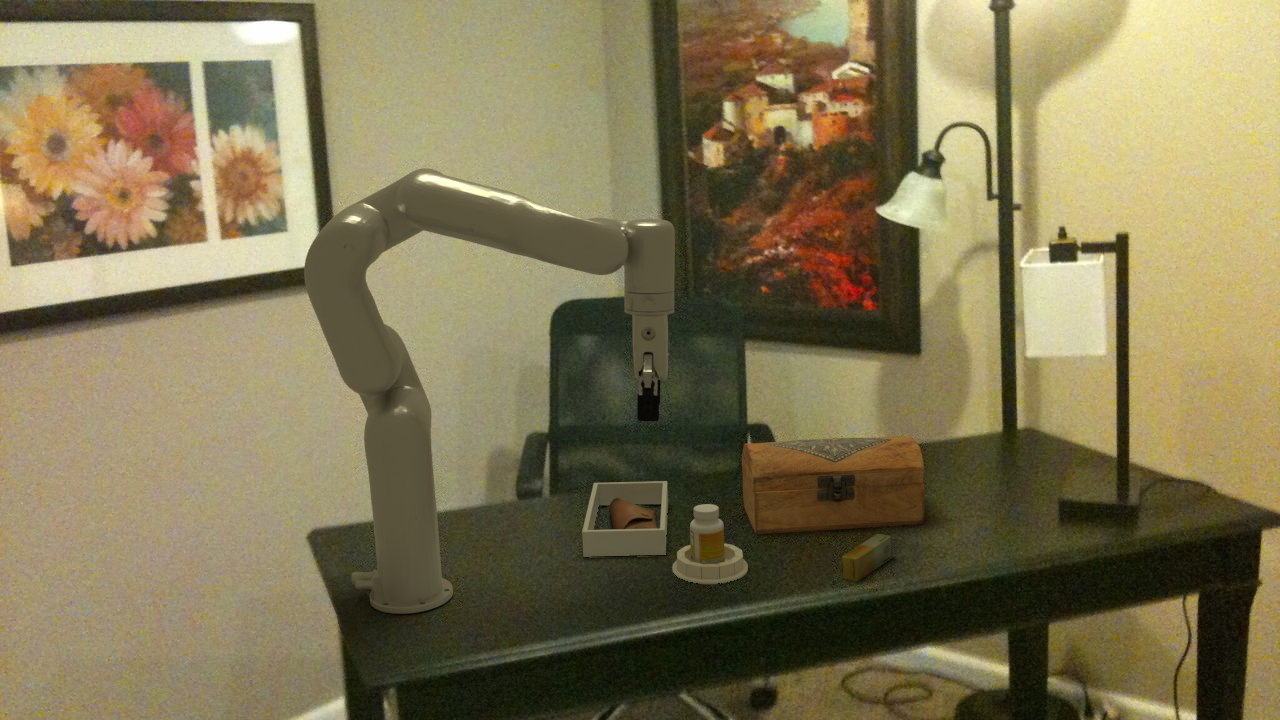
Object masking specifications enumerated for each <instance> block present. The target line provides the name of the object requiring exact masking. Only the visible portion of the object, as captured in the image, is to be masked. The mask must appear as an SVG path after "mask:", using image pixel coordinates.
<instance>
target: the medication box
mask: <svg viewBox="0 0 1280 720" xmlns="http://www.w3.org/2000/svg"><path fill="white" fill-rule="evenodd" d="M892 538H893V536H892V535H890V534H887V533H879V532H878V533H876V534H874V535H872V536H871V537H870V538H868V539H867V540H865V541H864V542H862V543H860V544H859V545H857V546H856V547H854V548H853V549H851V550H849V551H848V552H846V553H845V554H844V555H842V556H841V571H842V579H844V580H847V579H848V581H850V582H851V581H852V582H855V583H856V582H859V581H861V580H862V579H864V578H866V577H867V576H868V575H870V574H871V573H872V571H873V572H874V571H876V570H878V569H879V568H880V567H882V566H884V563H885V564H887V563H888V562H889V561H890V559H891V560H893V556H894V555H893V553H894V552H893V541H892V540H893V539H892ZM887 561H888V562H887ZM881 565H882V566H881ZM878 567H879V568H878ZM875 569H876V570H875ZM869 573H870V574H869ZM863 577H864V578H863Z"/></svg>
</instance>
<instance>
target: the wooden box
mask: <svg viewBox="0 0 1280 720" xmlns="http://www.w3.org/2000/svg"><path fill="white" fill-rule="evenodd" d="M923 458H924V457H923V453H922V449H921V446H920V445H919V444H918V441H916V439H915V438H913V437H912V436H907V435H905V436H903V435H901V436H900V435H899V436H878V437H877V436H876V437H839V438H838V437H836V438H835V437H834V438H817V439H816V438H815V439H812V438H811V439H810V438H809V439H795V440H784V441H783V440H781V441H771V442H770V441H769V442H768V441H767V442H757V443H752V442H751V443H743V448H742V453H741V467H742V468H741V469H742V495H743V496H742V497H743V507H744V509H745V512H746V514H747V517H748V520H749V522H750V524H751V527H752V528H753V531H754V534H755V535H767V534H769V535H770V534H784V533H800V532H817V531H818V532H819V531H831V530H833V531H834V530H835V531H836V530H837V531H838V530H850V529H851V530H853V528H854V529H867V528H871V527H872V528H886V526H890V527H903V526H902V525H909V526H919V525H918V524H921V525H924V515H925V498H926V483H925V473H926V472H925V464H924V459H923Z"/></svg>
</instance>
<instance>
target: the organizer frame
mask: <svg viewBox="0 0 1280 720" xmlns="http://www.w3.org/2000/svg"><path fill="white" fill-rule="evenodd" d="M668 491H669V490H668V481H667V480H665V481H664V480H660V481H658V480H655V481H653V480H652V481H620V482H616V481H614V482H593V486H592V489H591V494H590V497H589V502H588V505H587V510H586V513H585V518H584V523H583V527H582V531H581V535H582V537H581V539H582V556H583V557H589V558H592V557H591V556H629V555H667V554H666V553H667V537H666V535H668V534H667V532H668V515H667V513H668V511H669V510H668V509H669V497H668V496H669V495H668V494H669V493H668ZM615 498H621V499H624V500H627V501H629V502H631V503H633V504H661V506H660V522H659V523H660V524H659V527H658V529H614V528H613V529H595V528H594V526H595V527H596V523H595V521H596V522H597V519H596V517H597V518H598V514H597V512H598V513H599V509H598V507H599V505H610V504H611V502H612V501H613V500H614V499H615ZM599 508H600V507H599Z"/></svg>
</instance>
